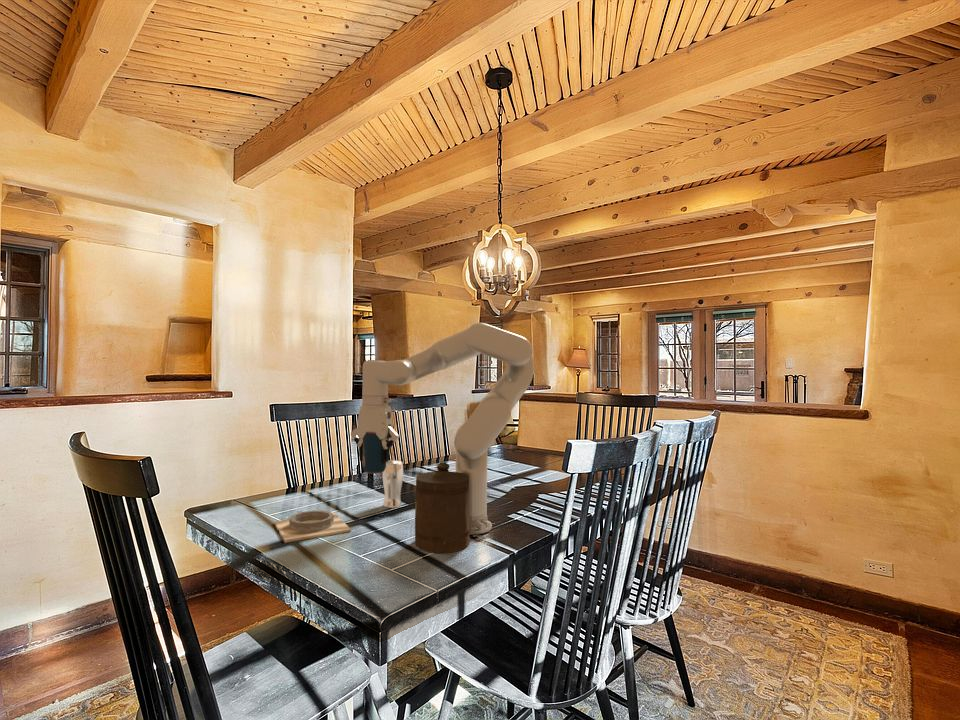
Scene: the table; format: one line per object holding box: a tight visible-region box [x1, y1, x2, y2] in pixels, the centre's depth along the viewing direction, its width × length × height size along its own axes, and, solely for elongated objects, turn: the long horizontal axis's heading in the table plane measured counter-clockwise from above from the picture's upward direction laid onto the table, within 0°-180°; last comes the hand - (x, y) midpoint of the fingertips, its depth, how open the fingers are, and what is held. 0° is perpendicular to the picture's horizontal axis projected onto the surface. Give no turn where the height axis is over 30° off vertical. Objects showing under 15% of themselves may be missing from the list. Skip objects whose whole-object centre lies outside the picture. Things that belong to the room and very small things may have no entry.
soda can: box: [362, 432, 386, 475], centre depth 148 cm, size 7×7×12 cm
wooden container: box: [414, 461, 471, 554], centre depth 135 cm, size 15×15×22 cm
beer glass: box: [382, 459, 404, 509], centre depth 169 cm, size 7×7×15 cm
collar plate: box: [273, 510, 352, 544], centre depth 146 cm, size 18×18×3 cm
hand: (374, 460), depth 148 cm, fingers closed on soda can, 6 cm apart
